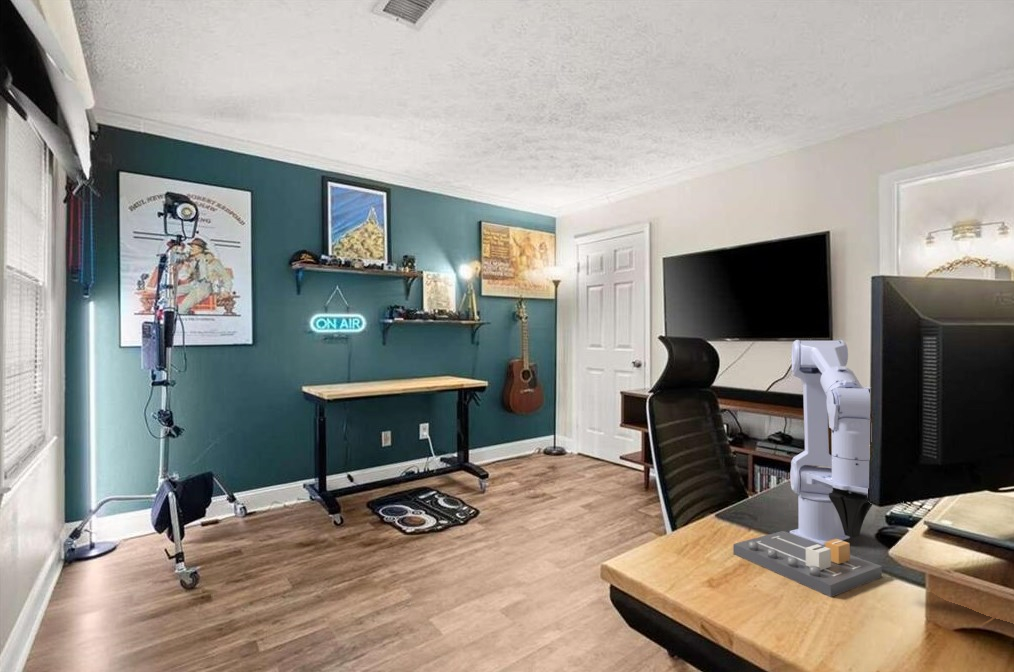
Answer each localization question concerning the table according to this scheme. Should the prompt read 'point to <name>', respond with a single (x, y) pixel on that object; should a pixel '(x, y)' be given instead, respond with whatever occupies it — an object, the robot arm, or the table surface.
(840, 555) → the fader
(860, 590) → the table surface
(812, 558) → the fader
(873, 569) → the mixer board
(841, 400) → the robot arm
